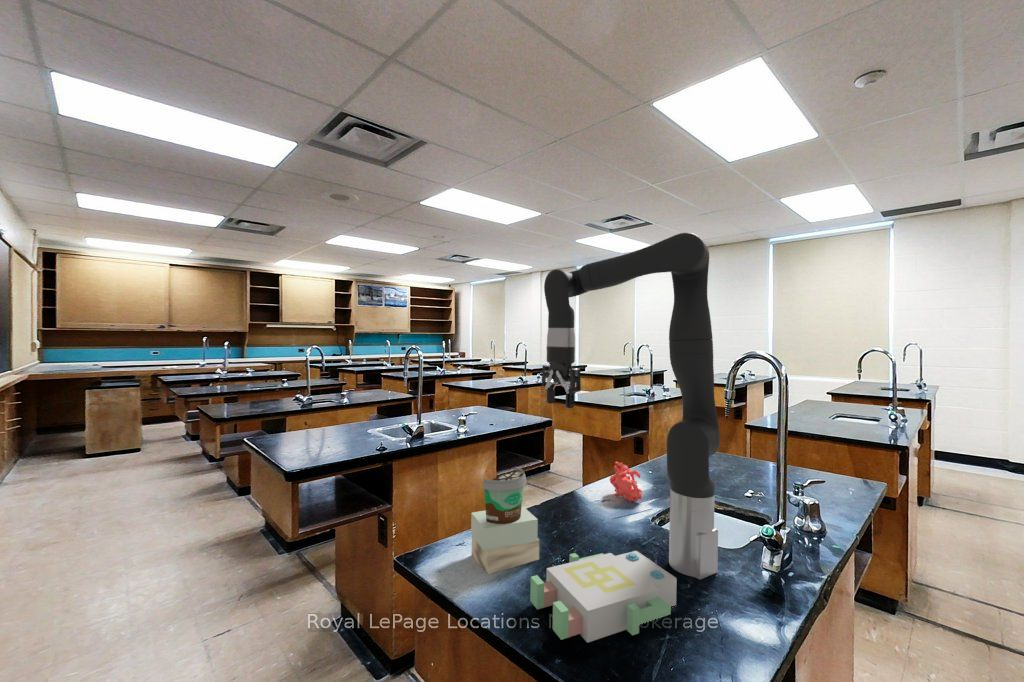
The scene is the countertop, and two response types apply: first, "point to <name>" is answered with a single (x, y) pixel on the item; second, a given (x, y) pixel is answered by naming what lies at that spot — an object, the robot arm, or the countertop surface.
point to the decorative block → (604, 594)
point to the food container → (504, 497)
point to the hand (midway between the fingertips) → (559, 405)
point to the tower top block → (503, 531)
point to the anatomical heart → (625, 483)
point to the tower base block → (505, 556)
